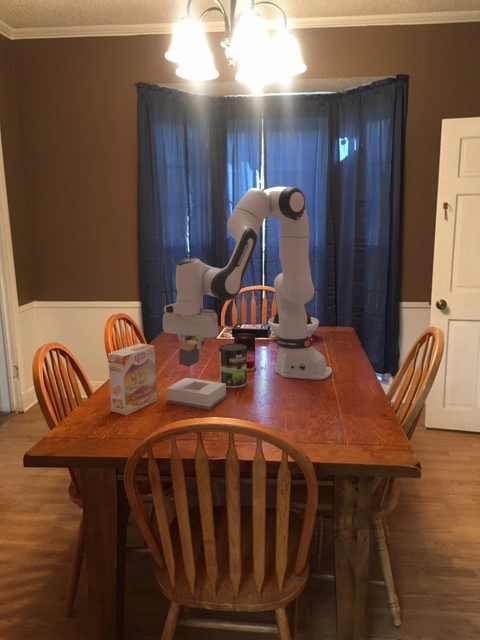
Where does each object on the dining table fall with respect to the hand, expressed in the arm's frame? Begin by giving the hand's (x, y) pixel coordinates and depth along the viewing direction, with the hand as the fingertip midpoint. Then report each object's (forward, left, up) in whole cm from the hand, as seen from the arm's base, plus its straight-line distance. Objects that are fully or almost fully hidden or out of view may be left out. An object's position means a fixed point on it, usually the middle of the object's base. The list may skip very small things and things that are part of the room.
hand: (191, 347), depth 172 cm
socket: (-3, +2, -17) cm, 18 cm away
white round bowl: (-5, -90, -18) cm, 91 cm away
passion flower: (+37, -66, -18) cm, 77 cm away
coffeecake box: (+13, +15, -18) cm, 27 cm away
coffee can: (-7, -18, -18) cm, 26 cm away
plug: (+1, 0, -5) cm, 5 cm away
